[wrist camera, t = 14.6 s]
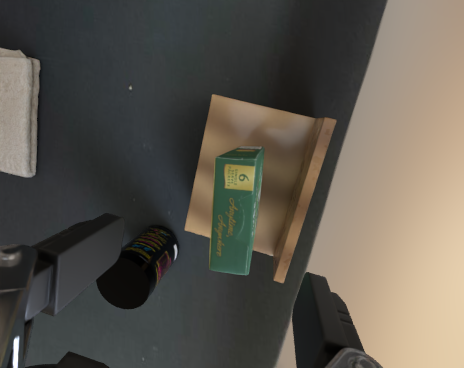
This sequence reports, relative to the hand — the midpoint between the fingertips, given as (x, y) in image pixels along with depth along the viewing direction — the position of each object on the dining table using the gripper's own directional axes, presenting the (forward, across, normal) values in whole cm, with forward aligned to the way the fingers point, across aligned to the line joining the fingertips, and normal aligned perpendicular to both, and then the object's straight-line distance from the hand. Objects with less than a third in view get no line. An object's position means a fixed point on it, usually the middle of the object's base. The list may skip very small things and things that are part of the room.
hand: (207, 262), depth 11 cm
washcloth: (+26, +38, +1) cm, 46 cm away
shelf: (+26, 0, 0) cm, 26 cm away
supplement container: (+26, +11, +15) cm, 32 cm away
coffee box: (+19, 0, 0) cm, 19 cm away
